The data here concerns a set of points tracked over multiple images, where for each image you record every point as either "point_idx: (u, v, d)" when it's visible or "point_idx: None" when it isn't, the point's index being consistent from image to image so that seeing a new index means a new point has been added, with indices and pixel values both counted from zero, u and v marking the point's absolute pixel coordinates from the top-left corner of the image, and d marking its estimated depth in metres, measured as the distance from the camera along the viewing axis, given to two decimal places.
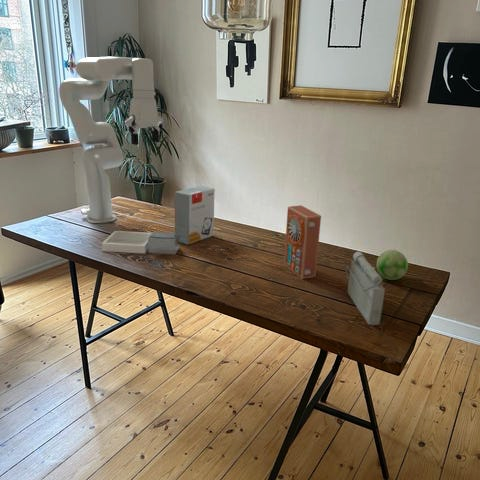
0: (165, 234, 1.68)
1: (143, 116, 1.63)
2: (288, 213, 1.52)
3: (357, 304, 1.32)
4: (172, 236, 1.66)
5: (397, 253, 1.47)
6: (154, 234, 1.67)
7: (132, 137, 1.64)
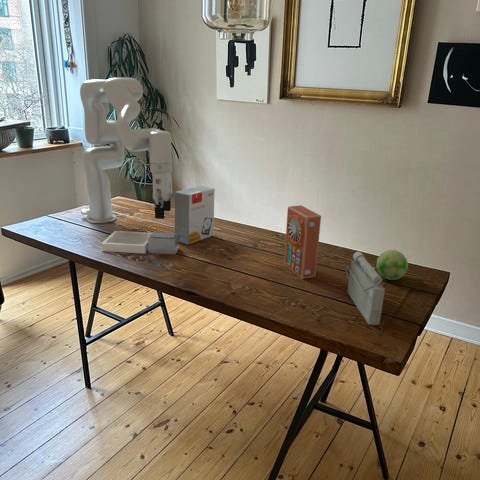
0: (165, 234, 1.68)
1: None
2: (288, 213, 1.52)
3: (357, 304, 1.32)
4: (172, 236, 1.66)
5: (397, 253, 1.47)
6: (154, 234, 1.67)
7: None
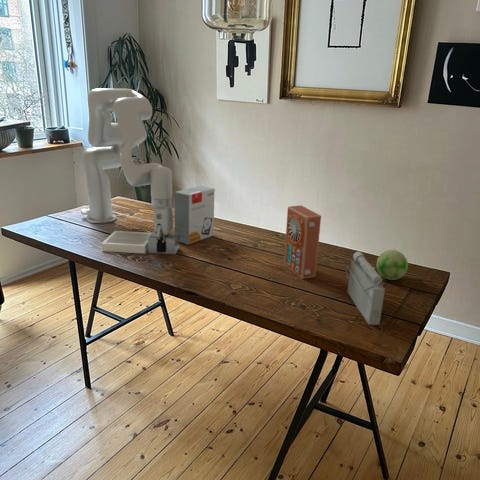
0: None
1: None
2: (288, 213, 1.52)
3: (357, 304, 1.32)
4: (172, 236, 1.66)
5: (397, 253, 1.47)
6: (154, 234, 1.67)
7: None
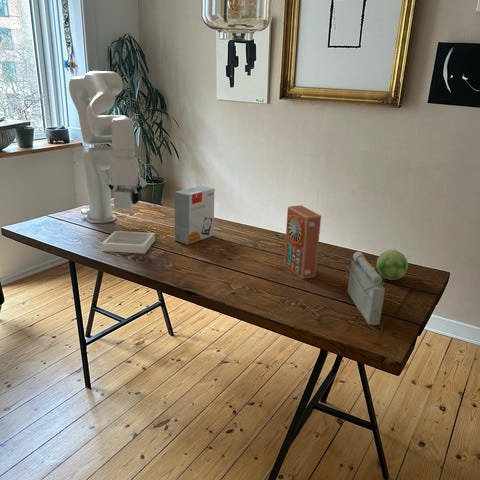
0: (127, 188, 1.64)
1: None
2: (288, 213, 1.52)
3: (357, 304, 1.32)
4: (119, 190, 1.62)
5: (397, 253, 1.47)
6: None
7: (138, 196, 1.66)
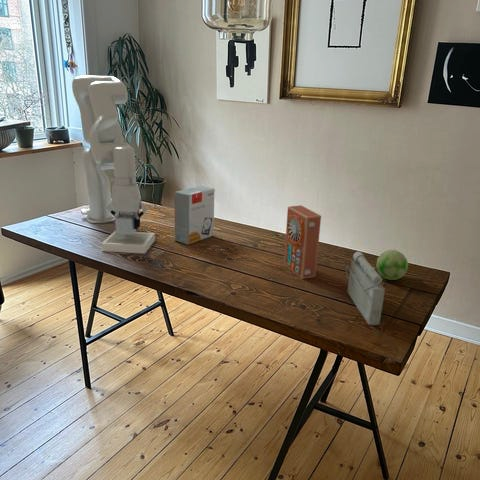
0: (129, 214, 1.68)
1: None
2: (288, 213, 1.52)
3: (357, 304, 1.32)
4: (121, 216, 1.65)
5: (397, 253, 1.47)
6: None
7: (139, 222, 1.69)
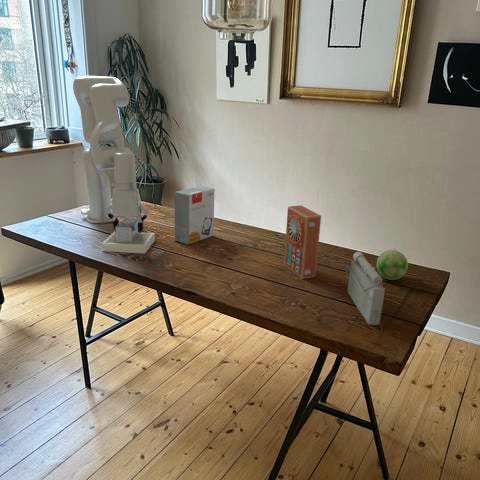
0: (129, 222, 1.69)
1: None
2: (288, 213, 1.52)
3: (357, 304, 1.32)
4: (121, 224, 1.66)
5: (397, 253, 1.47)
6: (130, 219, 1.73)
7: (142, 225, 1.70)
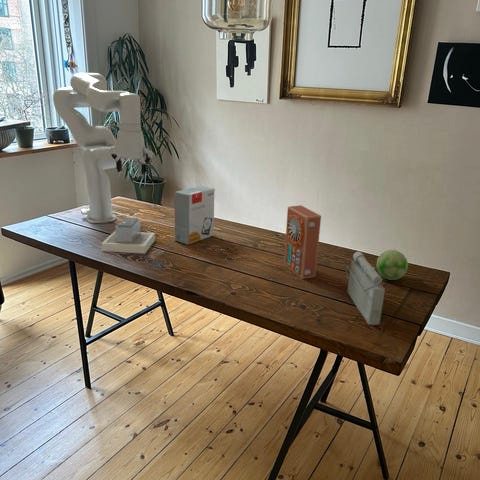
0: (129, 222, 1.69)
1: None
2: (288, 213, 1.52)
3: (357, 304, 1.32)
4: (121, 224, 1.66)
5: (397, 253, 1.47)
6: (130, 219, 1.73)
7: (146, 167, 1.75)
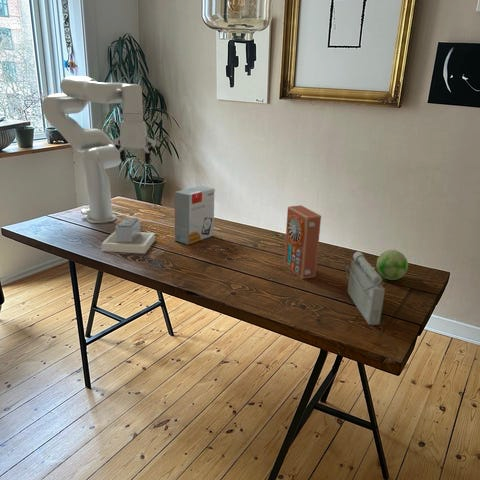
0: (129, 222, 1.69)
1: None
2: (288, 213, 1.52)
3: (357, 304, 1.32)
4: (121, 224, 1.66)
5: (397, 253, 1.47)
6: (130, 219, 1.73)
7: (149, 156, 1.80)
